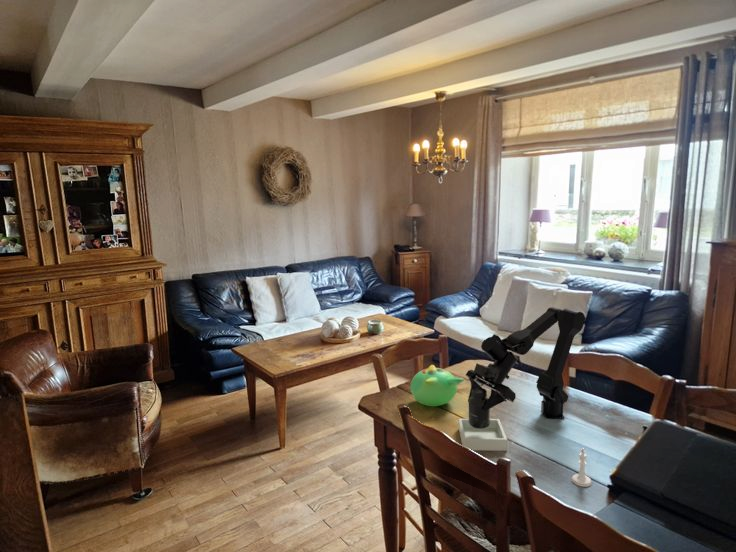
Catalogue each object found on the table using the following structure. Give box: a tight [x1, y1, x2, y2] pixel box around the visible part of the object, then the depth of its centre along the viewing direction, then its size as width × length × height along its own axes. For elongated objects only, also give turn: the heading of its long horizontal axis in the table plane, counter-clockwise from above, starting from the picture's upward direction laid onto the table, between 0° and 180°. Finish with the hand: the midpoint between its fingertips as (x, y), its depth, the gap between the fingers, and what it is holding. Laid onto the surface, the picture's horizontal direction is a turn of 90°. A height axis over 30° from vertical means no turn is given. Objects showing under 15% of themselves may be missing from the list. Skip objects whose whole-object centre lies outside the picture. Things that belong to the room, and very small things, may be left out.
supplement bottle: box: [468, 387, 491, 429], centre depth 153 cm, size 7×7×12 cm
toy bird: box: [410, 364, 465, 407], centre depth 179 cm, size 18×17×15 cm
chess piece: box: [571, 447, 592, 488], centre depth 129 cm, size 5×5×10 cm
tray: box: [458, 418, 508, 452], centre depth 153 cm, size 14×14×4 cm
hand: (476, 406), depth 152 cm, fingers closed on supplement bottle, 7 cm apart
